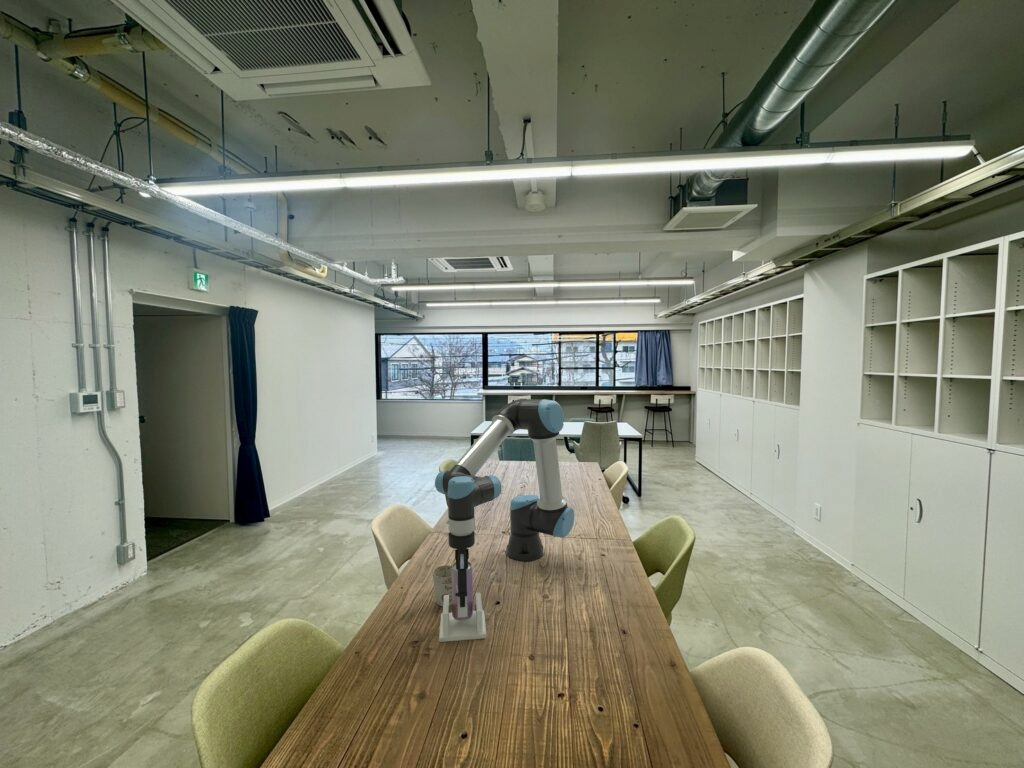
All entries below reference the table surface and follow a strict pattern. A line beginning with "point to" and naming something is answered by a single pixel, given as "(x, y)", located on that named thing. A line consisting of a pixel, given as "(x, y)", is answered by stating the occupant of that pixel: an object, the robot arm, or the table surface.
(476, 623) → the holder
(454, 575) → the beverage can
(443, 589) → the mug
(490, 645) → the table surface
